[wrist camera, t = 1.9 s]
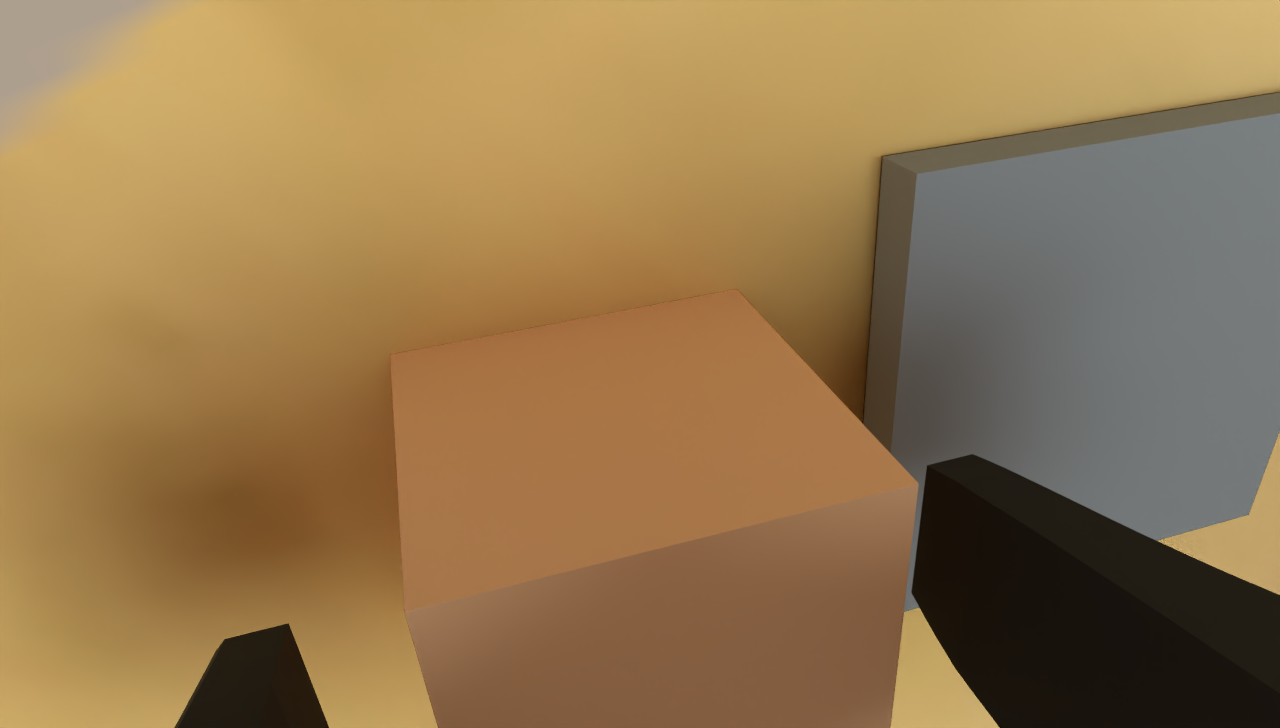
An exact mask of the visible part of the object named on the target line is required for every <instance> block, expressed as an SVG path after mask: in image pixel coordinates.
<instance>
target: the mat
mask: <svg viewBox="0 0 1280 728" xmlns="http://www.w3.org/2000/svg"><path fill="white" fill-rule="evenodd" d="M863 425H864V426H865V427H866V428H867V429H868V430H869V431H870V432H871V433H872V434H873V435H874V436H875V437H876V439H877V440H878V441H879V442H880V443H881V444H882V445H883V446H884V447H885V448H886V449H887V450H888V451H889V452H890V453H891V455H892V456H893V457H894V458H895V459H896V460H897V461H898V462H899V463H900V464H901V465H902V466H903V467H904V468H905V469H906V471H907V472H908V473H909V474H910V475H911V476H912V477H913V478H914V479H915V480H916V481H917V482H918V483H919V486H918V494H917V503H916V511H915V520H914V529H913V537H912V546H911V554H910V563H909V572H908V580H907V589H906V597H905V606H904V612H905V611H909V610H912V609H916V608H919V606H918V604H917V602H916V600H915V598H914V597H913V595H912V593H911V591H912V583H913V575H914V567H915V558H916V550H917V542H918V534H919V526H920V518H921V509H922V501H923V493H924V485H925V477H926V469H927V465H930V464H934V463H938V462H942V461H946V460H950V459H954V458H958V457H962V456H967V455H971V454H974V455H976V456H979V457H981V458H983V459H986V460H988V461H990V462H993V463H995V464H997V465H999V466H1002V467H1004V468H1006V469H1008V470H1010V471H1012V472H1015V473H1017V474H1019V475H1021V476H1023V477H1025V478H1027V479H1029V480H1031V481H1033V482H1036V483H1038V484H1040V485H1042V486H1044V487H1046V488H1048V489H1050V490H1052V491H1054V492H1056V493H1058V494H1060V495H1062V496H1064V497H1066V498H1069V499H1071V500H1073V501H1075V502H1077V503H1079V504H1081V505H1083V506H1085V507H1087V508H1089V509H1091V510H1093V511H1095V512H1097V513H1099V514H1101V515H1103V516H1106V517H1108V518H1110V519H1112V520H1114V521H1116V522H1118V523H1120V524H1122V525H1124V526H1126V527H1128V528H1130V529H1133V530H1135V531H1137V532H1139V533H1141V534H1143V535H1145V536H1147V537H1149V538H1152V539H1154V540H1156V541H1157V540H1160V539H1164V538H1168V537H1171V536H1175V535H1178V534H1182V533H1185V532H1189V531H1192V530H1196V529H1199V528H1203V527H1207V526H1210V525H1214V524H1217V523H1221V522H1224V521H1228V520H1231V519H1235V518H1238V517H1242V516H1246V515H1249V512H1250V510H1251V507H1252V504H1253V502H1254V499H1255V496H1256V493H1257V491H1258V488H1259V485H1260V483H1261V480H1262V477H1263V474H1264V472H1265V469H1266V466H1267V464H1268V461H1269V458H1270V455H1271V453H1272V450H1273V447H1274V445H1275V442H1276V439H1277V436H1278V434H1279V431H1280V92H1279V93H1273V94H1267V95H1261V96H1254V97H1248V98H1242V99H1236V100H1230V101H1223V102H1217V103H1211V104H1205V105H1199V106H1192V107H1186V108H1180V109H1174V110H1168V111H1162V112H1155V113H1149V114H1143V115H1137V116H1131V117H1124V118H1118V119H1112V120H1106V121H1100V122H1093V123H1087V124H1081V125H1075V126H1069V127H1062V128H1056V129H1050V130H1044V131H1038V132H1031V133H1025V134H1019V135H1013V136H1007V137H1001V138H994V139H988V140H982V141H976V142H970V143H963V144H957V145H951V146H945V147H939V148H932V149H926V150H920V151H914V152H908V153H901V154H895V155H889V156H883V162H882V175H881V189H880V203H879V217H878V230H877V244H876V258H875V271H874V285H873V299H872V312H871V326H870V340H869V353H868V367H867V381H866V395H865V408H864V422H863Z"/></svg>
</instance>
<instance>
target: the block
mask: <svg viewBox="0 0 1280 728" xmlns="http://www.w3.org/2000/svg"><path fill="white" fill-rule="evenodd" d="M390 361H391V379H392V397H393V415H394V433H395V451H396V468H397V486H398V504H399V522H400V540H401V557H402V575H403V593H404V611H405V615H406V619H407V622H408V626H409V629H410V633H411V636H412V639H413V643H414V646H415V650H416V653H417V657H418V660H419V664H420V667H421V671H422V674H423V677H424V681H425V684H426V688H427V691H428V695H429V698H430V702H431V705H432V709H433V712H434V715H435V719H436V722H437V726H438V728H890V726H891V718H892V709H893V701H894V692H895V683H896V675H897V666H898V658H899V649H900V640H901V632H902V623H903V615H904V606H905V597H906V589H907V580H908V572H909V563H910V554H911V546H912V537H913V529H914V520H915V511H916V503H917V494H918V486H919V483H918V482H917V481H916V480H915V479H914V478H913V477H912V476H911V475H910V474H909V473H908V472H907V471H906V469H905V468H904V467H903V466H902V465H901V464H900V463H899V462H898V461H897V460H896V459H895V458H894V457H893V456H892V455H891V453H890V452H889V451H888V450H887V449H886V448H885V447H884V446H883V445H882V444H881V443H880V442H879V441H878V440H877V439H876V437H875V436H874V435H873V434H872V433H871V432H870V431H869V430H868V429H867V428H866V427H865V426H864V425H863V424H862V423H861V421H860V420H859V419H858V418H857V417H856V416H855V415H854V414H853V413H852V412H851V411H850V410H849V409H848V408H847V407H846V405H845V404H844V403H843V402H842V401H841V400H840V399H839V398H838V397H837V396H836V395H835V394H834V393H833V392H832V391H831V389H830V388H829V387H828V386H827V385H826V384H825V383H824V382H823V381H822V380H821V379H820V378H819V377H818V376H817V375H816V373H815V372H814V371H813V370H812V369H811V368H810V367H809V366H808V365H807V364H806V363H805V362H804V361H803V360H802V359H801V357H800V356H799V355H798V354H797V353H796V352H795V351H794V350H793V349H792V348H791V347H790V346H789V345H788V344H787V343H786V341H785V340H784V339H783V338H782V337H781V336H780V335H779V334H778V333H777V332H776V331H775V330H774V329H773V328H772V326H771V325H770V324H769V323H768V322H767V321H766V320H765V319H764V318H763V317H762V316H761V315H760V314H759V313H758V312H757V310H756V309H755V308H754V307H753V306H752V305H751V304H750V303H749V302H748V301H747V300H746V299H745V298H744V297H743V296H742V294H741V293H740V292H739V291H738V290H737V289H734V290H729V291H723V292H718V293H713V294H708V295H702V296H697V297H692V298H686V299H681V300H676V301H671V302H665V303H660V304H655V305H649V306H644V307H639V308H634V309H628V310H623V311H618V312H612V313H607V314H602V315H597V316H591V317H586V318H581V319H575V320H570V321H565V322H560V323H554V324H549V325H544V326H538V327H533V328H528V329H523V330H517V331H512V332H507V333H501V334H496V335H491V336H486V337H480V338H475V339H470V340H464V341H459V342H454V343H449V344H443V345H438V346H433V347H427V348H422V349H417V350H412V351H406V352H401V353H396V354H390Z"/></svg>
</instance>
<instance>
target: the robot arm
mask: <svg viewBox="0 0 1280 728" xmlns="http://www.w3.org/2000/svg"><path fill="white" fill-rule="evenodd" d="M911 593H912V595H913V597H914V598H915V600H916V602H917V604H918V606H919V607H920V609H921V611H922V613H923V614H924V616H925V618H926V620H927V622H928V623H929V625H930V627H931V629H932V630H933V632H934V634H935V636H936V637H937V639H938V641H939V642H940V644H941V646H942V647H943V649H944V650H945V652H946V654H947V655H948V657H949V659H950V660H951V662H952V664H953V665H954V667H955V669H956V670H957V671H958V673H959V674H960V675H961V677H962V678H963V679H964V681H965V682H966V683H967V685H968V686H969V688H970V689H971V690H972V691H973V693H974V694H975V695H976V697H977V698H978V699H979V701H980V702H981V703H982V705H983V706H984V707H985V709H986V710H987V711H988V713H989V714H990V715H991V717H992V718H993V719H994V721H995V722H996V723H997V725H998V726H999V727H1000V728H1280V595H1278V594H1275V593H1273V592H1271V591H1268V590H1266V589H1264V588H1261V587H1259V586H1257V585H1254V584H1252V583H1249V582H1247V581H1245V580H1242V579H1240V578H1238V577H1235V576H1233V575H1231V574H1228V573H1226V572H1224V571H1221V570H1219V569H1217V568H1215V567H1213V566H1210V565H1208V564H1206V563H1204V562H1201V561H1199V560H1197V559H1195V558H1193V557H1190V556H1188V555H1186V554H1184V553H1182V552H1179V551H1177V550H1175V549H1173V548H1171V547H1169V546H1166V545H1164V544H1162V543H1160V542H1158V541H1156V540H1154V539H1152V538H1149V537H1147V536H1145V535H1143V534H1141V533H1139V532H1137V531H1135V530H1133V529H1130V528H1128V527H1126V526H1124V525H1122V524H1120V523H1118V522H1116V521H1114V520H1112V519H1110V518H1108V517H1106V516H1103V515H1101V514H1099V513H1097V512H1095V511H1093V510H1091V509H1089V508H1087V507H1085V506H1083V505H1081V504H1079V503H1077V502H1075V501H1073V500H1071V499H1069V498H1066V497H1064V496H1062V495H1060V494H1058V493H1056V492H1054V491H1052V490H1050V489H1048V488H1046V487H1044V486H1042V485H1040V484H1038V483H1036V482H1033V481H1031V480H1029V479H1027V478H1025V477H1023V476H1021V475H1019V474H1017V473H1015V472H1012V471H1010V470H1008V469H1006V468H1004V467H1002V466H999V465H997V464H995V463H993V462H990V461H988V460H986V459H983V458H981V457H979V456H976V455H974V454H971V455H967V456H962V457H958V458H954V459H950V460H946V461H942V462H938V463H934V464H930V465H927V469H926V477H925V485H924V493H923V501H922V509H921V518H920V526H919V534H918V542H917V550H916V558H915V567H914V575H913V583H912V591H911ZM175 728H329V726H328V724H327V721H326V719H325V716H324V714H323V711H322V708H321V706H320V703H319V701H318V698H317V696H316V693H315V690H314V688H313V685H312V683H311V680H310V677H309V675H308V672H307V670H306V667H305V665H304V662H303V659H302V657H301V654H300V652H299V649H298V647H297V644H296V641H295V639H294V636H293V634H292V631H291V629H290V626H289V624H285V625H280V626H276V627H272V628H268V629H264V630H260V631H256V632H252V633H248V634H244V635H240V636H236V637H232V638H228V639H225V640H224V641H223V642H222V644H221V645H220V646H219V648H218V649H217V650H216V652H215V654H214V656H213V657H212V659H211V661H210V663H209V665H208V667H207V669H206V670H205V672H204V674H203V676H202V678H201V680H200V682H199V684H198V685H197V687H196V689H195V691H194V693H193V695H192V697H191V698H190V700H189V702H188V704H187V706H186V708H185V710H184V711H183V713H182V715H181V717H180V719H179V721H178V722H177V724H176V726H175Z"/></svg>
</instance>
